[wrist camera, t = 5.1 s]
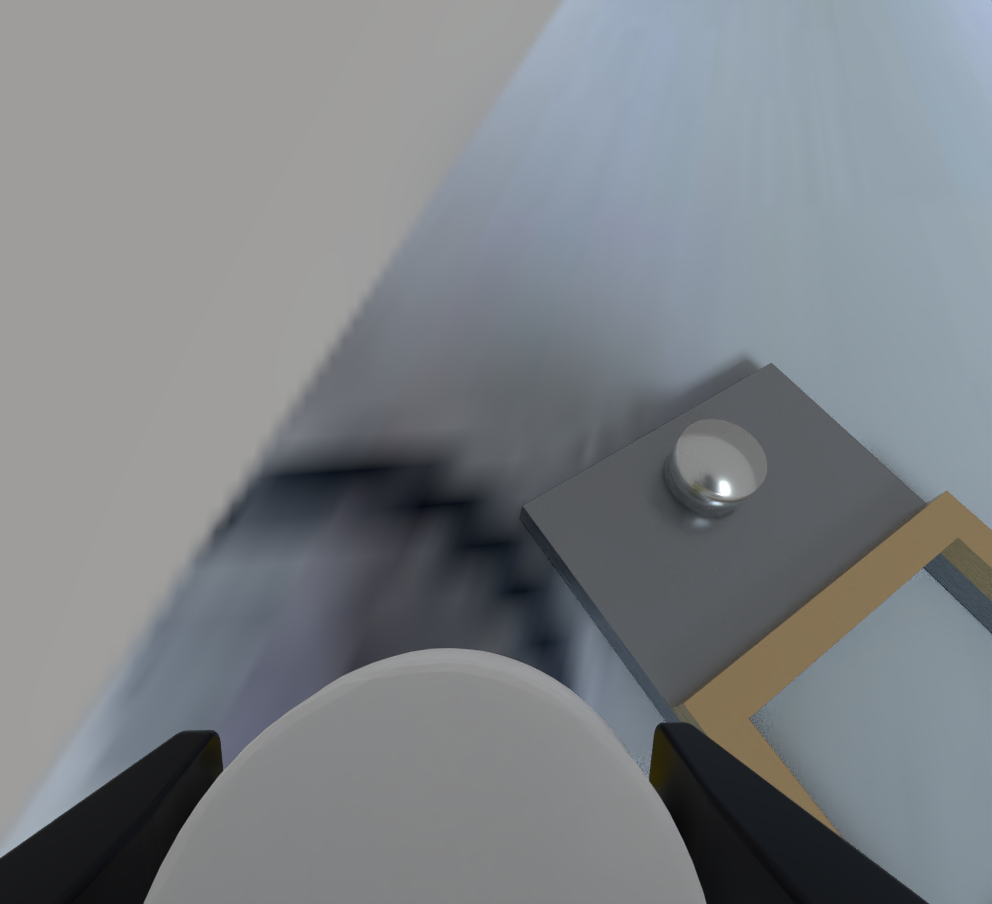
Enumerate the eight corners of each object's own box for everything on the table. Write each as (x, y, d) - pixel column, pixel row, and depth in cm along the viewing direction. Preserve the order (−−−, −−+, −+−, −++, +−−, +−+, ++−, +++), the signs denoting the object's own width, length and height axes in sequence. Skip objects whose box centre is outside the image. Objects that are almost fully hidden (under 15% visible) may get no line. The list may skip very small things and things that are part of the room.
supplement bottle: (309, 735, 13) (60, 619, 5) (540, 691, 14) (681, 526, 5) (315, 1065, 10) (-254, 2201, 2) (602, 986, 11) (1063, 1543, 3)
